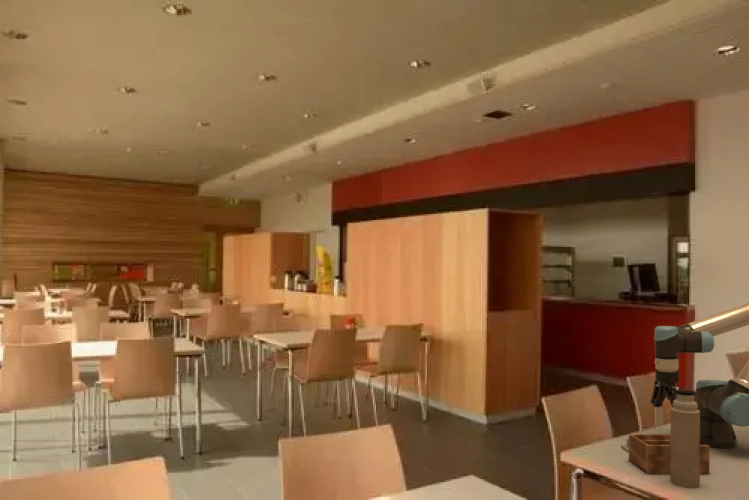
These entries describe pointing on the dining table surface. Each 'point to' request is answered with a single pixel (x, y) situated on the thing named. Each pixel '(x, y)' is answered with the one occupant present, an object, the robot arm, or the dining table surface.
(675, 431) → the thermos bottle
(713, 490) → the dining table surface
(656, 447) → the walnut box
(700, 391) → the robot arm
